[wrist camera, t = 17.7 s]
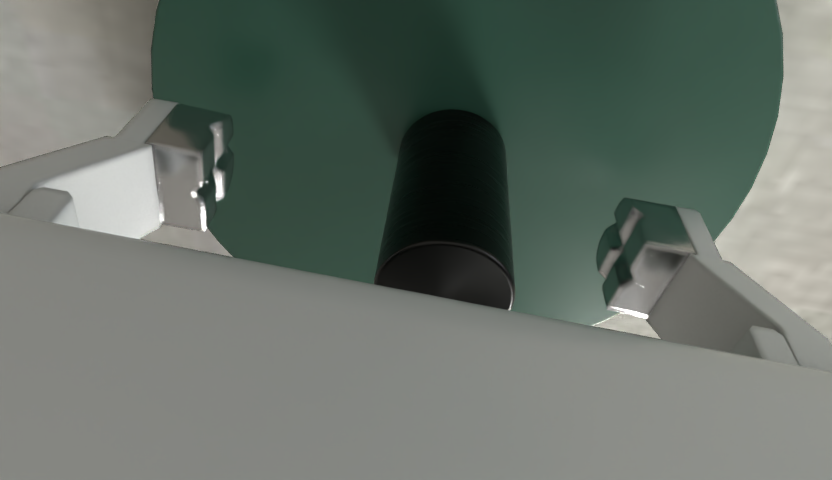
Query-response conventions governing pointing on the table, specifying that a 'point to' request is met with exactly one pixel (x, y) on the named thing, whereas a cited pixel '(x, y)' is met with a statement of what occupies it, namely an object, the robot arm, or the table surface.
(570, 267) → the pot lid
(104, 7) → the table surface
